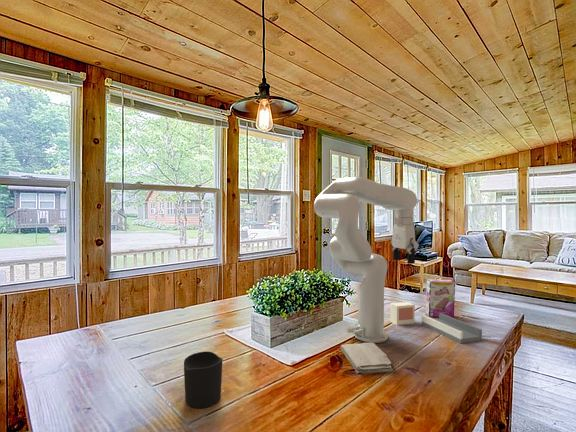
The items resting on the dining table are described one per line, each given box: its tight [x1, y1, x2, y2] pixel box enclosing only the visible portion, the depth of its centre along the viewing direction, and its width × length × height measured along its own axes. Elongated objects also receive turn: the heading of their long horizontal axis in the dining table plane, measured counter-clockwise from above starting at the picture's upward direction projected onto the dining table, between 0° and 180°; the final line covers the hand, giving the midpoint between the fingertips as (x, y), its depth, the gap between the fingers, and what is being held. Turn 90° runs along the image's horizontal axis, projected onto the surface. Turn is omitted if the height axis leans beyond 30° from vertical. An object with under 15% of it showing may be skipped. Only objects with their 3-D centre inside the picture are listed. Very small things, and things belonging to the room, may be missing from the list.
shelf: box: [421, 313, 483, 344], centre depth 129 cm, size 20×10×4 cm, turn 18°
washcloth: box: [339, 342, 394, 374], centre depth 105 cm, size 12×18×3 cm, turn 9°
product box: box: [389, 301, 416, 326], centre depth 140 cm, size 9×5×8 cm, turn 108°
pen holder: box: [183, 350, 223, 409], centre depth 82 cm, size 9×9×10 cm
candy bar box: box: [425, 278, 456, 319], centre depth 149 cm, size 11×5×16 cm, turn 84°
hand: (403, 261), depth 139 cm, fingers open, 9 cm apart
